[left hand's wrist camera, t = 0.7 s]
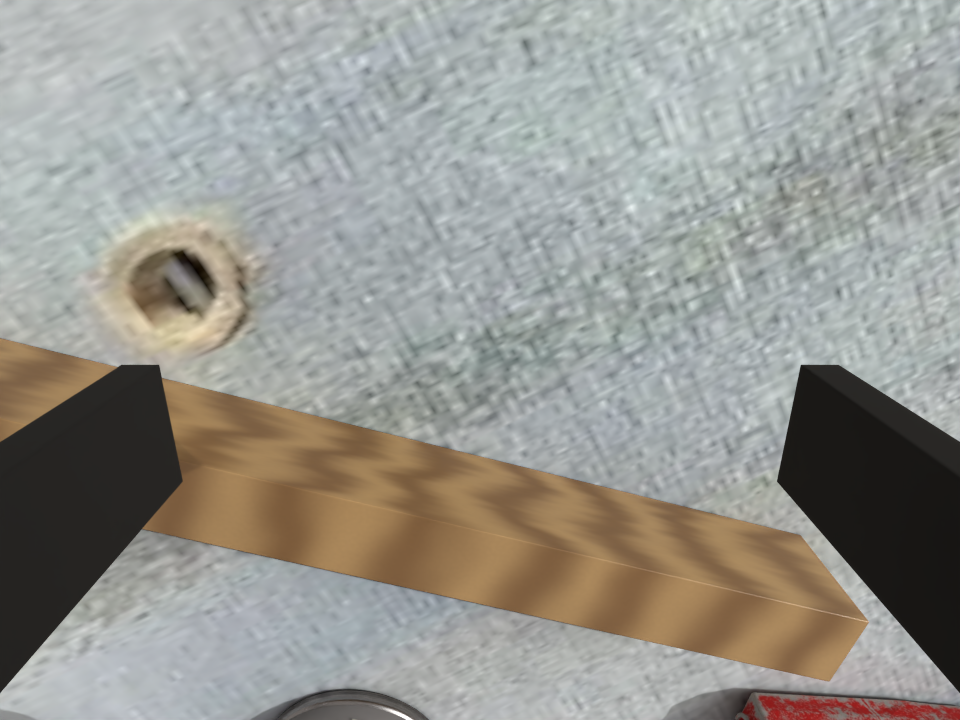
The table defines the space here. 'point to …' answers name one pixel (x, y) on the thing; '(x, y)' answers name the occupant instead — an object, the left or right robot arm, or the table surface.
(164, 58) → the table surface
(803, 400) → the left robot arm
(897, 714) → the gun
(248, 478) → the beam
